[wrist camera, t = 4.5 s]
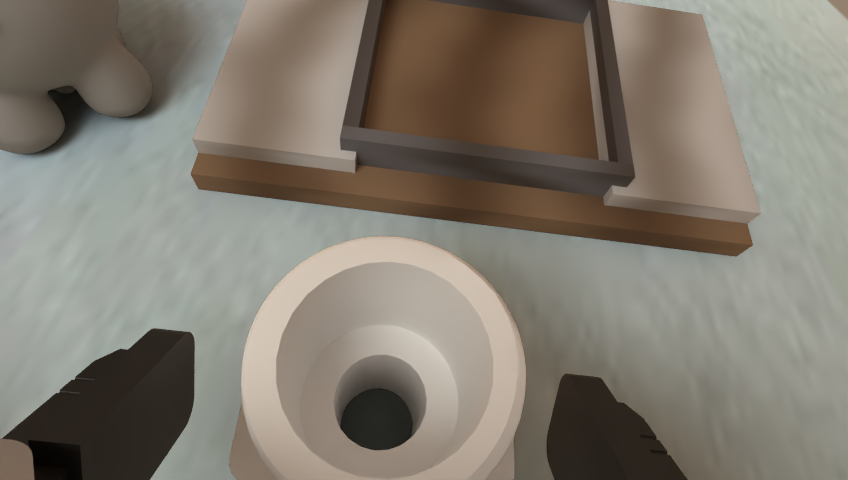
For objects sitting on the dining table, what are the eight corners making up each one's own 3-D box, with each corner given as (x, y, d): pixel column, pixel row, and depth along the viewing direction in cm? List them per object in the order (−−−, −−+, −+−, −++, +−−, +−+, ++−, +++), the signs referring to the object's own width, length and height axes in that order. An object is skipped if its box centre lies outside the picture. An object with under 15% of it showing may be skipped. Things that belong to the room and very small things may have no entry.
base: (679, 31, 27) (706, -11, 25) (736, 256, 21) (780, 226, 18) (277, -30, 26) (270, -79, 24) (198, 188, 19) (177, 147, 17)
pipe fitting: (235, 383, 16) (137, 287, 9) (429, 297, 18) (471, 166, 11) (305, 594, 14) (245, 683, 7) (520, 467, 16) (645, 433, 9)
